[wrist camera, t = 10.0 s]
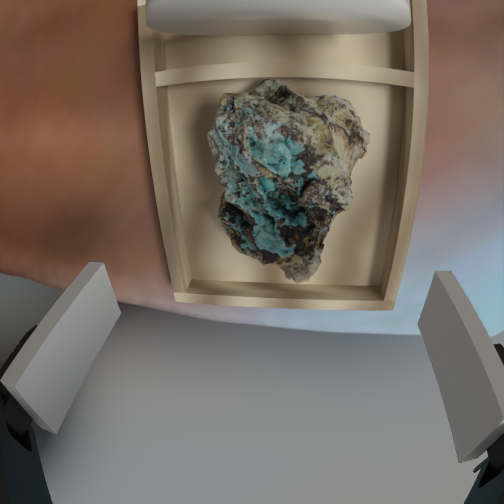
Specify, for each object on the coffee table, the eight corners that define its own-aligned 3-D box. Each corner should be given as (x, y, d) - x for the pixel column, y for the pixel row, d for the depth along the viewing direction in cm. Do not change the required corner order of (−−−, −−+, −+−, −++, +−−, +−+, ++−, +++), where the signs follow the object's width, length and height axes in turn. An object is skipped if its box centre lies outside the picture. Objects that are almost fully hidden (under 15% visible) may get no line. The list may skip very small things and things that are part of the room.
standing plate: (192, 41, 18) (89, 17, 7) (192, 28, 17) (89, -7, 7) (375, 40, 16) (460, 8, 6) (375, 27, 16) (457, -17, 5)
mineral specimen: (229, 70, 18) (175, 129, 13) (376, 90, 16) (393, 160, 12) (235, 208, 27) (205, 285, 23) (342, 227, 26) (335, 311, 21)
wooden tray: (185, 281, 29) (175, 301, 26) (155, 1, 17) (137, -7, 14) (385, 288, 27) (392, 310, 24) (410, -1, 15) (425, -11, 12)
